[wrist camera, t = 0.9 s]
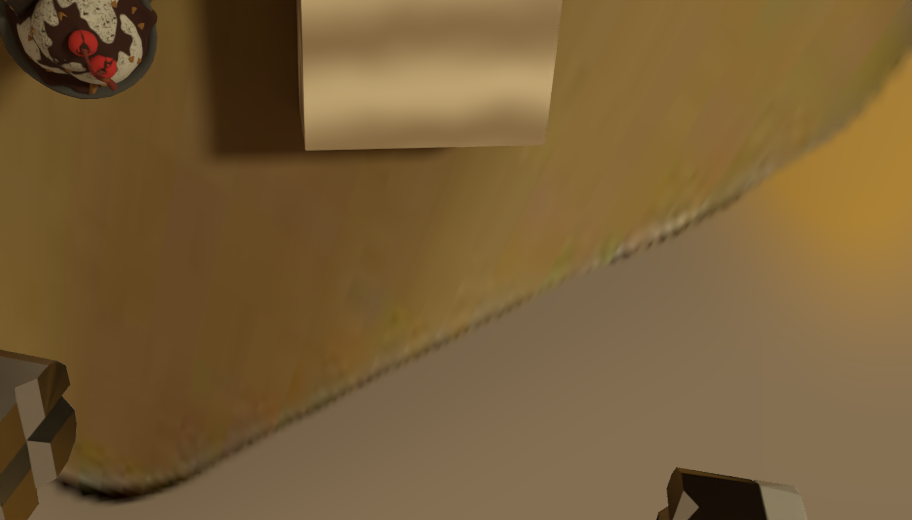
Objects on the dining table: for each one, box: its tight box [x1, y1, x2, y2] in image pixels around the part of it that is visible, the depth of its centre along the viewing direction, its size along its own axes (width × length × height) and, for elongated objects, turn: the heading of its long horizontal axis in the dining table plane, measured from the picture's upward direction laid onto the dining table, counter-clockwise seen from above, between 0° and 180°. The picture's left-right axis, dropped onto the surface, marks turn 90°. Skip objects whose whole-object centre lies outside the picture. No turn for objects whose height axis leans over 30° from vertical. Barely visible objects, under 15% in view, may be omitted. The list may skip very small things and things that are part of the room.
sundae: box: [0, 0, 157, 99], centre depth 41 cm, size 7×7×15 cm
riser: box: [296, 0, 563, 151], centre depth 49 cm, size 14×14×6 cm
